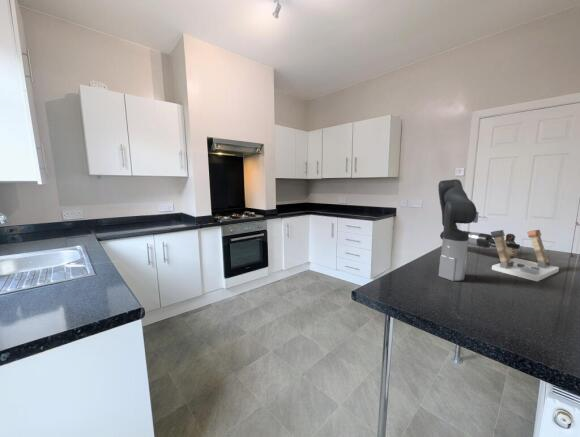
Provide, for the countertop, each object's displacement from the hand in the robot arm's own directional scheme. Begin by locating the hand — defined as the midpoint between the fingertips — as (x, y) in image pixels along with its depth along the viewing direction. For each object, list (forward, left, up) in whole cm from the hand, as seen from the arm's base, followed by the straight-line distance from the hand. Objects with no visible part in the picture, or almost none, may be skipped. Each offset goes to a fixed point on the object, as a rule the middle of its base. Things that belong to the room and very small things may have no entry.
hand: (519, 246), depth 122 cm
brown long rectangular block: (0, -10, -6) cm, 11 cm away
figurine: (+18, +10, -9) cm, 23 cm away
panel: (-8, -6, -9) cm, 13 cm away
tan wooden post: (-16, -2, -6) cm, 17 cm away
